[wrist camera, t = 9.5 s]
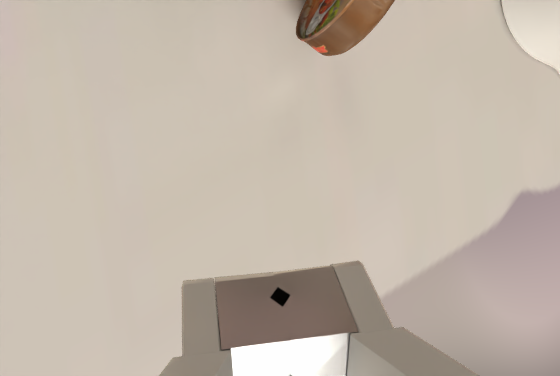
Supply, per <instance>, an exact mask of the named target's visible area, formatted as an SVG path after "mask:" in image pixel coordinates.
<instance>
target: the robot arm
mask: <svg viewBox="0 0 560 376" xmlns="http://www.w3.org/2000/svg"><path fill="white" fill-rule="evenodd" d="M501 1H502V7H503V12H504V16H505V19H506V22H507V25H508V27H509V29H510V31H511V33H512V35H513V37H514V38H515V40H516V41H517V43H518V44H519V45H520V46H521V47H522V49H523V50H525V51H526V52H527V53H528V54H529V55H530V56H532V57H533V58H535V59H537V60H538V61H541V62H543V63H545V64H547V65H549V66H551V67H553V68H554V69H556V70H557V72H558V73H559V74H560V0H501ZM214 278H215V285H214V279H213V278H207V279H197V280H186V281H183V284H182V356H181V357H174V358H172V359H171V361H170V362H169V363H168V365H167V366H166V367H165V369H164V370H163V371H162V372H161V374H160V375H159V376H479V375H478V374H476V373H475V372H473V371H472V370H470V369H468V368H467V367H465V366H464V365H462V364H461V363H459V362H457V361H456V360H454V359H452V358H451V357H450V356H448V355H446V354H444V353H443V352H441V351H440V350H438V349H437V348H435V347H434V346H432V345H430V344H429V343H427V342H426V341H424V340H423V339H421V338H420V337H418V336H416V335H415V334H413V333H412V332H410V331H409V330H407V329H405V328H404V327H399V328H394V327H393V325H392V322H391V320H390V318H389V316H388V314H387V312H386V310H385V308H384V306H383V304H382V302H381V300H380V298H379V296H378V294H377V292H376V290H375V288H374V286H373V284H372V282H371V280H370V278H369V276H368V273H367V271H366V269H365V267H364V265H363V264H362V263H361V262H360V261H353V262H345V263H338V264H331V265H330V266H320V267H312V268H304V269H295V270H287V271H279V272H268V273H257V274H246V275H235V276H224V277H214ZM215 291H216V295H215ZM216 302H217V305H216ZM217 313H218V315H217Z"/></svg>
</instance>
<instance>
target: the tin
mask: <svg viewBox="0 0 560 376" xmlns="http://www.w3.org/2000/svg"><path fill="white" fill-rule="evenodd" d="M394 1H395V0H307V1H306V2H305V5H304V7H303V9H302V11H301V13H300V16H299V18H298V21H297V26H296V35H297V37H298V38H299V39H300V40H302V41H305V42H306V43H307V44H309V45H310V46H311V47H312V48H314V49H315V50H316V51H318V52H319V53H321V54H322V55H325V56H332V55H338V54H342V53H344V52H346V51H348V50H349V49H351V48H352V47H354V46H355V45H356V44H358V43H359V42H360V41H361V40H362V39H364V38H365V37H366V36H367V35H368V34H369V33H370V32H371V31H372V29H373V28H374V27H375V26H376V25H377V24H378V23H379V21H380V20H381V19H382V18H383V16H384V15H385V14H386V12H387V11H388V9H389V8H390V6H391V5H392V4H393V2H394Z"/></svg>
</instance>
